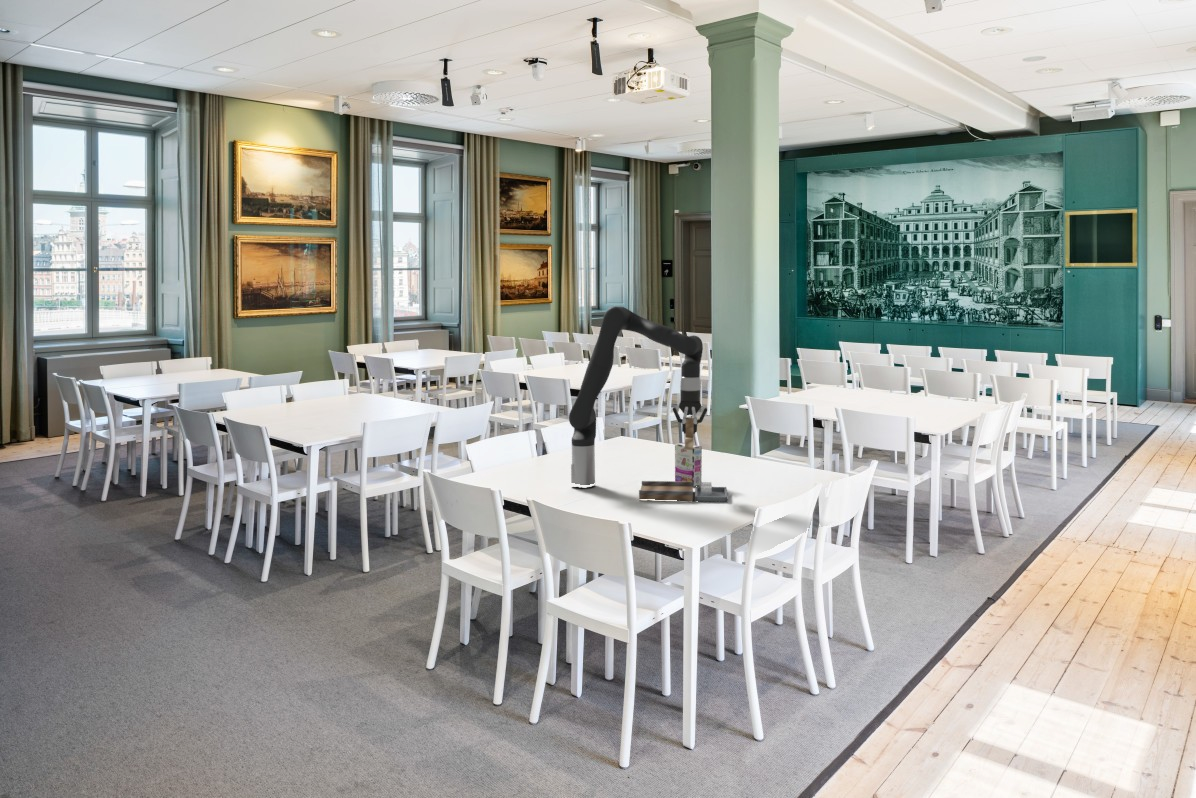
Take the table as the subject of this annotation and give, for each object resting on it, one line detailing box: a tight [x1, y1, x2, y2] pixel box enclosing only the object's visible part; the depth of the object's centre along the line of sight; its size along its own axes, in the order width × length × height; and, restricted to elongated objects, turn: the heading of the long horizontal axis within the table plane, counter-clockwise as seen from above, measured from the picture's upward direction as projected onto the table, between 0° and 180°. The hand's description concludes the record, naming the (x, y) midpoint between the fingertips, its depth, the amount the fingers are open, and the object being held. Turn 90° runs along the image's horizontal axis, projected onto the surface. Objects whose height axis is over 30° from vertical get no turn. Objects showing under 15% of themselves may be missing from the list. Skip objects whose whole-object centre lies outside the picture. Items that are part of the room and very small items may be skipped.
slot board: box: [638, 480, 694, 502], centre depth 346 cm, size 20×16×4 cm
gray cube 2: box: [700, 485, 713, 497], centre depth 343 cm, size 4×4×4 cm
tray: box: [694, 486, 728, 503], centre depth 345 cm, size 12×16×2 cm
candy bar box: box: [674, 442, 703, 488], centre depth 364 cm, size 11×5×16 cm, turn 37°
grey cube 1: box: [701, 481, 713, 487], centre depth 348 cm, size 4×4×4 cm
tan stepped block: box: [684, 417, 695, 450], centre depth 344 cm, size 3×11×11 cm, turn 173°
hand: (689, 433), depth 344 cm, fingers closed on tan stepped block, 3 cm apart
